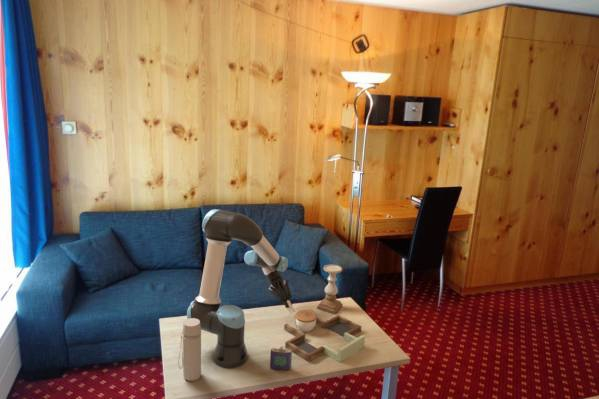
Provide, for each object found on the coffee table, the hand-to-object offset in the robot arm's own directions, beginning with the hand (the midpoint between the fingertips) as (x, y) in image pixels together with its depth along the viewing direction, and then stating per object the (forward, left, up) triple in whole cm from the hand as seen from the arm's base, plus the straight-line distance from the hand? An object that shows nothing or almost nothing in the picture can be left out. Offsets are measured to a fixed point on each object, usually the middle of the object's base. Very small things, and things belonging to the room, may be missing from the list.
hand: (292, 312), depth 233 cm
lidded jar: (+4, -9, -5) cm, 11 cm away
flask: (-16, -38, -5) cm, 41 cm away
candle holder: (+24, +10, -5) cm, 27 cm away
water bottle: (-54, -36, -5) cm, 65 cm away
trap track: (+10, -19, -5) cm, 22 cm away
